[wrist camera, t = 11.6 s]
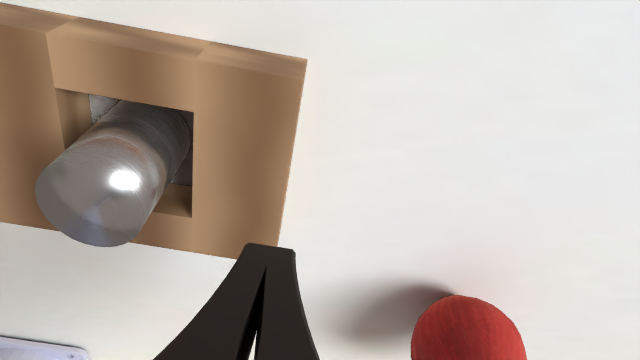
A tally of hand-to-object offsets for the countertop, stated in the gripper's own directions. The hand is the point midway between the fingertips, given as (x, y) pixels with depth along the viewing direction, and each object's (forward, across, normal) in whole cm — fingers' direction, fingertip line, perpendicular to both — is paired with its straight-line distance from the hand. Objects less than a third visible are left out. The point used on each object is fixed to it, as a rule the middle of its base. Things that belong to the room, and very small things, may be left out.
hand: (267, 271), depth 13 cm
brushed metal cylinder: (+10, +7, +2) cm, 12 cm away
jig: (+10, +7, +2) cm, 12 cm away
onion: (+10, -11, +10) cm, 18 cm away
